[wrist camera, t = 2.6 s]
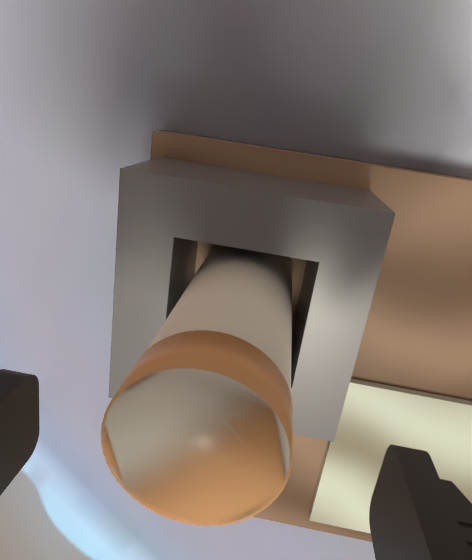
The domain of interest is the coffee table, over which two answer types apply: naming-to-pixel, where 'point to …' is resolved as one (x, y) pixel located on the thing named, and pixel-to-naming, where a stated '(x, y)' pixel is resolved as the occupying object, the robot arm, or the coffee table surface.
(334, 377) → the grey square frame
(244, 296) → the plug
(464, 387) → the base board
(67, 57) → the coffee table surface
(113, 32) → the coffee table surface
